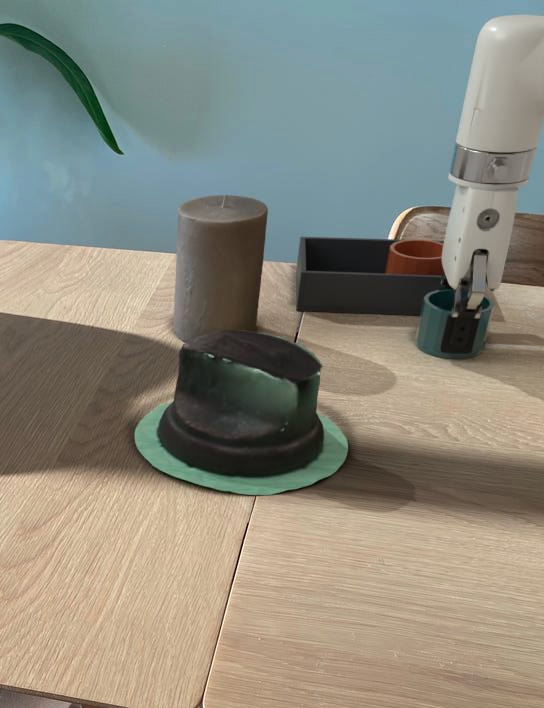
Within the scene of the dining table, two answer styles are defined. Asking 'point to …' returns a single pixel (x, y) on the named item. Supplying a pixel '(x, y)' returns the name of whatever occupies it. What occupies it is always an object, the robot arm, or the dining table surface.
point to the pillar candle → (218, 264)
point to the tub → (356, 278)
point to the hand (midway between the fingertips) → (450, 336)
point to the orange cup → (415, 257)
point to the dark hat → (244, 417)
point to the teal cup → (435, 319)
